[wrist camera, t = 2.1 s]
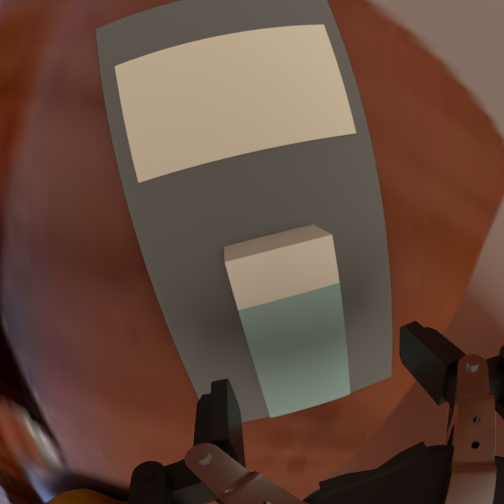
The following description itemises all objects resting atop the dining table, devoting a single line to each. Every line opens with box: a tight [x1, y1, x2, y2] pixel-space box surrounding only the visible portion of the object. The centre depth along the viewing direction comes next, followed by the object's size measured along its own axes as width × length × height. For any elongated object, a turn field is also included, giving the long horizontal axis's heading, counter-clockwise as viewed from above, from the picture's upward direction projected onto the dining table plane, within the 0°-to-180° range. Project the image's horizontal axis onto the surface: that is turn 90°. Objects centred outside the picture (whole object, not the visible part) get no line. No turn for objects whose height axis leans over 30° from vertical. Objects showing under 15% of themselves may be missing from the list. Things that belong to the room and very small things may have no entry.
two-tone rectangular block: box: [224, 224, 350, 418], centre depth 16 cm, size 5×10×3 cm, turn 13°
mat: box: [96, 0, 392, 422], centre depth 16 cm, size 14×28×1 cm, turn 13°
